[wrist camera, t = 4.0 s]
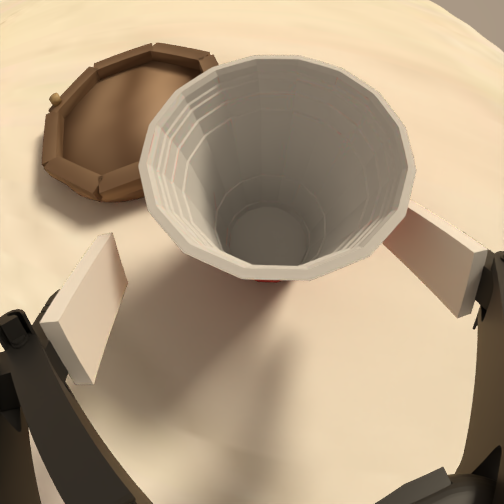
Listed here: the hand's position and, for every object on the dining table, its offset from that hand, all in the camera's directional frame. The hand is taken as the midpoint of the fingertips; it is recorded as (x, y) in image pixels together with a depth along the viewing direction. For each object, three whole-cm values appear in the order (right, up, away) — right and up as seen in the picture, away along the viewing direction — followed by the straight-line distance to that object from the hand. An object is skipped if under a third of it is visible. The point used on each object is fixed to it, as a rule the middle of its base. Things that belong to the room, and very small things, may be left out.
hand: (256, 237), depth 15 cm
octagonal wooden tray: (-11, +11, +11) cm, 19 cm away
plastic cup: (+1, 0, +8) cm, 8 cm away
